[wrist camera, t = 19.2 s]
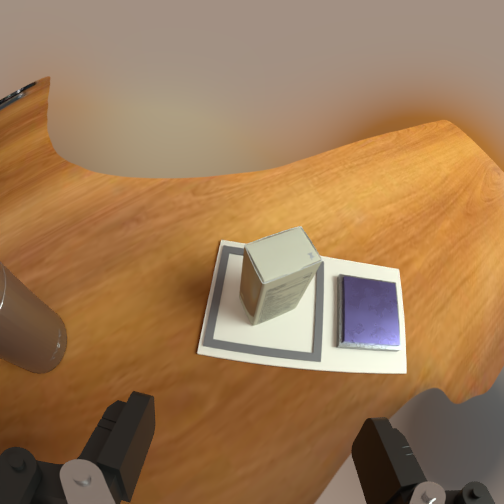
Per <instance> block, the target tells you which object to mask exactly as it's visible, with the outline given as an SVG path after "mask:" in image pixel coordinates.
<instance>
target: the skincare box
mask: <svg viewBox="0 0 504 504" xmlns="http://www.w3.org/2000/svg"><path fill="white" fill-rule="evenodd" d="M321 262H322V258H321V257H320V255H319V253H318V252H317V250H316V248H315V247H314V245H313V244H312V242H311V240H310V239H309V237H308V236H307V234H306V233H305V232H304V230H303V228H302V227H301V226H299V227H295V228H292V229H288V230H285V231H282V232H279V233H276V234H273V235H270V236H267V237H264V238H261V239H259V240H256V241H253V242H251V243H248V244H245V245H244V254H243V263H242V273H241V283H240V292H239V299H240V301H241V303H242V306H243V308H244V310H245V313H246V315H247V317H248V319H249V321H250V323H251V325H252V326H255V325H258V324H260V323H263V322H265V321H268V320H270V319H273V318H275V317H278V316H280V315H282V314H284V313H286V312H289V311H291V310H293V309H295V308H296V307H297V305H298V303H299V301H300V300H301V298H302V296H303V294H304V293H305V291H306V289H307V287H308V286H309V284H310V282H311V280H312V279H313V277H314V275H315V273H316V271H317V270H318V268H319V266H320V264H321Z"/></svg>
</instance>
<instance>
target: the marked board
mask: <svg viewBox="0 0 504 504" xmlns="http://www.w3.org/2000/svg"><path fill="white" fill-rule="evenodd" d="M244 245H245V244H244V243H238V242H232V241H225V240H221V243H220V247H219V252H218V256H217V261H216V265H215V270H214V275H213V279H212V284H211V288H210V293H209V298H208V303H207V307H206V312H205V317H204V322H203V327H202V332H201V337H200V342H199V347H198V352H197V354H200V355H205V356H211V357H216V358H222V359H228V360H234V361H241V362H248V363H255V364H262V365H270V366H278V367H287V368H296V369H307V370H318V371H332V372H349V373H376V374H406V341H405V324H404V312H403V301H402V291H401V282H400V274H399V269H394V268H388V267H382V266H376V265H371V264H365V263H359V262H353V261H347V260H341V259H335V258H329V257H323V256H320V257H321V258H322V262H321V264H320V266H319V268H318V270H317V271H316V273H315V275H314V277H313V279H312V280H311V282H310V284H309V286H308V287H307V289H306V291H305V293H304V294H303V296H302V298H301V300H300V301H299V303H298V305H297V307H296V308H295V309H293V310H291V311H289V312H286V313H284V314H282V315H280V316H278V317H275V318H273V319H270V320H268V321H265V322H263V323H260V324H258V325H255V326H252V325H251V323H250V321H249V319H248V317H247V315H246V313H245V310H244V308H243V306H242V303H241V301H240V299H239V292H240V283H241V273H242V263H243V254H244ZM339 274H344V275H350V276H357V277H363V278H370V279H376V280H383V281H389V282H396V287H397V297H398V308H399V322H400V340H401V350H399V351H397V352H392V351H373V350H358V349H345V348H336V341H337V277H338V275H339Z"/></svg>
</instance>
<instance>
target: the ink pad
mask: <svg viewBox="0 0 504 504" xmlns="http://www.w3.org/2000/svg"><path fill="white" fill-rule="evenodd" d="M336 348H345V349H358V350H373V351H392V352H397V351H399V350H401V340H400V322H399V308H398V297H397V287H396V282H389V281H383V280H376V279H370V278H363V277H357V276H350V275H344V274H339V275H338V277H337V341H336Z"/></svg>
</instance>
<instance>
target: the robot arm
mask: <svg viewBox="0 0 504 504" xmlns="http://www.w3.org/2000/svg"><path fill="white" fill-rule="evenodd" d="M66 344H67V335H66V329H65V326H64V323H63V321H62V320H61V318H60V317H59V316H58V315H57V314H56V313H55V312H54V311H53V310H52V309H50V308H49V307H48V306H47V305H46V304H45V303H44V302H43V301H41V300H40V299H39V298H38V297H37V296H36V295H35V294H33V293H32V292H31V291H30V290H29V289H28V288H27V287H26V286H25V285H24V284H23V283H22V282H21V281H19V280H18V279H17V278H16V277H15V276H14V275H13V274H12V273H11V272H10V271H9V270H8V269H7V268H6V267H5V266H4V265H3V264H2V263H1V262H0V358H2V359H4V360H6V361H8V362H10V363H13V364H15V365H17V366H19V367H22V368H24V369H26V370H29V371H31V372H34V373H46V372H49V371H51V370H52V369H54V368H55V367H56V366H57V365H58V364H59V362H60V361H61V359H62V357H63V355H64V352H65V349H66ZM154 430H155V409H154V397H153V396H151V395H147V394H143V393H140V392H136V391H133V392H132V394H131V395H130V397H129V399H128V401H127V403H126V402H122V401H119V400H117V401H116V402H115V403H113V404H112V405H110V406H109V407H107V409H106V411H105V413H104V414H103V416H102V419H100V421H99V423H98V425H97V427H96V428H95V430H94V432H93V433H92V435H91V437H90V439H89V440H88V442H87V444H86V446H85V447H84V449H83V451H82V453H81V455H80V456H79V457H78V458H77V459H75V460H71V461H68V462H67V463H65V464H53V463H47V462H42V461H37V460H35V458H34V456H33V455H32V454H31V453H30V452H29V451H27V450H26V449H23V448H20V447H12V448H8V449H6V450H5V451H4V452H3V453H2V454H1V456H0V504H120V502H121V500H123V501H126V502H130V501H131V498H132V495H133V492H134V489H135V487H136V484H137V481H138V478H139V475H140V472H141V469H142V466H143V464H144V461H145V458H146V455H147V452H148V449H149V447H150V444H151V441H152V438H153V435H154ZM352 458H353V461H354V464H355V467H356V470H357V474H358V477H359V480H360V483H361V487H362V490H363V493H364V496H365V500H366V503H367V504H495V503H494V501H493V499H492V497H491V495H490V493H489V491H488V490H487V487H486V486H485V485H483V484H482V483H480V482H470V483H468V484H466V485H465V487H464V488H463V489H462V490H455V491H444V489H443V488H442V487H441V486H440V485H439V484H437V483H434V482H428V481H427V480H426V478H425V476H424V474H423V472H422V470H421V467H420V466H419V464H418V462H417V460H416V458H415V456H414V455H413V452H412V450H411V448H410V447H409V444H408V442H407V440H406V438H405V436H404V435H403V434H402V433H400V432H399V431H398V430H397V429H393V428H392V426H391V424H390V422H389V420H388V419H387V418H386V417H381V418H368V419H367V420H366V421H365V422H364V424H363V426H362V428H361V430H360V432H359V433H358V435H357V437H356V439H355V440H354V442H353V445H352Z"/></svg>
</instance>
